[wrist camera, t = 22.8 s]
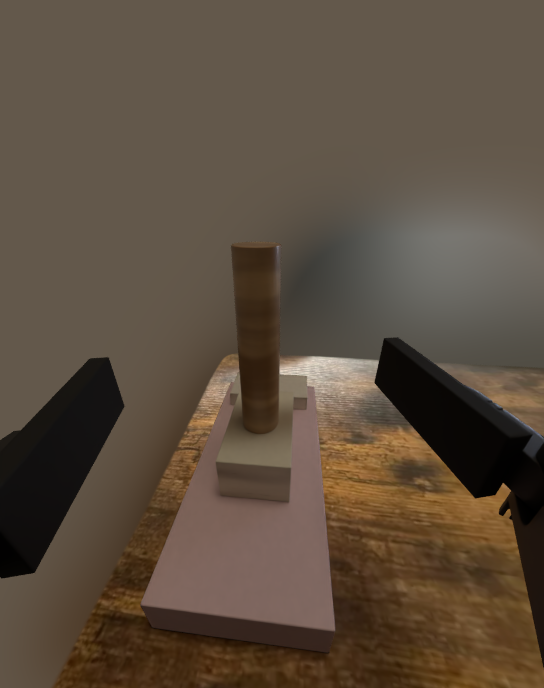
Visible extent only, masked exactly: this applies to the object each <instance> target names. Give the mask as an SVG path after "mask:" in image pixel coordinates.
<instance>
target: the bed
mask: <svg viewBox="0 0 544 688" xmlns="http://www.w3.org/2000/svg"><path fill="white" fill-rule="evenodd" d="M240 389H241V385H240V372H238V374H237V376H236V379H235V382H231V384H230V386H229V389H228V391H227V394H226V396H225V398H224V401H223V403H222V406H221V408H220V411H219V413H218V416H217V418H216V420H215V423H214V425H213V428H212V430H211V433H210V435H209V438H208V440H207V442H206V445H205V447H204V450H203V452H202V455H201V457H200V460H199V462H198V465H197V467H196V469H195V472H194V474H193V477H192V479H191V482H190V484H189V487H188V489H187V491H186V494H185V496H184V499H183V501H182V504H181V506H180V509H179V511H178V513H177V516H176V518H175V521H174V523H173V526H172V528H171V531H170V533H169V536H168V538H167V540H166V543H165V545H164V548H163V550H162V553H161V555H160V558H159V560H158V562H157V565H156V567H155V570H154V572H153V575H152V577H151V580H150V582H149V585H148V587H147V589H146V592H145V594H144V597H143V599H142V602H141V607H142V609H143V611H144V613H145V615H146V617H147V619H148V621H149V622H150V624H151V626H152V628H158V629H165V630H172V631H179V632H186V633H193V634H200V635H207V636H214V637H221V638H228V639H235V640H242V641H249V642H256V643H263V644H270V645H277V646H284V647H291V648H298V649H305V650H312V651H319V652H326V653H329V651H330V647H331V644H332V640H333V637H334V633H335V621H334V609H333V598H332V586H331V575H330V563H329V552H328V540H327V528H326V517H325V505H324V494H323V482H322V471H321V459H320V447H319V436H318V424H317V413H316V401H315V390H314V387H309V386H307V376H298V375H279V391H288V392H294V400H293V432H292V463H291V485H290V501H289V502H284V501H273V500H262V499H252V498H241V497H231V496H221V495H220V489H219V482H218V475H217V468H216V459H217V456H218V453H219V450H220V447H221V444H222V441H223V438H224V435H225V432H226V429H227V426H228V423H229V420H230V417H231V414H232V411H233V409H234V406H235V403H236V400H237V397H238V394H239V391H240Z"/></svg>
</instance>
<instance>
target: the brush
mask: <svg viewBox="0 0 544 688" xmlns="http://www.w3.org/2000/svg"><path fill="white" fill-rule="evenodd" d="M231 251H232V266H233V280H234V296H235V311H236V325H237V340H238V355H239V370H240V385H241V389H240V391H239V394H238V397H237V400H236V403H235V406H234V409H233V411H232V414H231V417H230V420H229V423H228V426H227V429H226V432H225V435H224V438H223V441H222V444H221V447H220V450H219V453H218V456H217V459H216V468H217V475H218V482H219V489H220V495H221V496H231V497H241V498H252V499H262V500H273V501H284V502H289V501H290V485H291V463H292V432H293V400H294V392H288V391H279V367H280V300H281V299H280V298H281V244H279V243H273V242H242V243H235V244H232V245H231Z"/></svg>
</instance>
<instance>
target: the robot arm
mask: <svg viewBox="0 0 544 688" xmlns="http://www.w3.org/2000/svg"><path fill="white" fill-rule="evenodd" d="M374 383H375V384H376V385H377V386H378V388H379V389H380V390H381V391H382V392H383V393H384V394H385V396H386V397H387V398H388V399H389V400H390V401H391V402H392V404H393V405H394V406H395V407H396V408H397V409H398V410H399V412H400V413H401V414H402V415H403V416H404V417H405V418H406V420H407V421H408V422H409V423H410V424H411V425H412V426H413V428H414V429H415V430H416V431H417V432H418V433H419V434H420V436H421V437H422V438H423V439H424V440H425V441H426V443H427V444H428V445H429V446H430V447H431V448H432V449H433V451H434V452H435V453H436V454H437V455H438V456H439V457H440V459H441V460H442V461H443V462H444V463H445V464H446V465H447V467H448V468H449V469H450V470H451V471H452V472H453V473H454V475H455V476H456V477H457V478H458V479H459V480H460V481H461V483H462V484H463V485H464V486H465V487H466V488H467V489H468V491H469V492H470V493H471V494H472V495H473V496H474V497H475V498H480V497H486V496H492V495H496V493H497V491H498V490H499V488H500V487H501V485H502V483H504V484H505V485H506V486H507V487H508V488H509V489H510V490H511V492H510V494H509V495H508V497H507V498H506V500H505V501H504V503H503V504H502V506H501V507H500V509H499V514H500V515H502V516H503V515H504V514H505V512H506V511H507V510H508V509H510V511H511V516H510V517H509V519H511V520H513V525H514V530H515V534H516V539H517V544H518V549H519V553H520V558H521V563H522V568H523V572H524V577H525V582H526V587H527V591H528V596H529V601H530V605H531V610H532V615H533V620H534V624H535V629H536V634H537V639H538V643H539V648H540V653H541V658H542V662H543V667H544V437H543V436H542V435H540V434H539V433H537V432H536V431H534V430H533V429H532V428H530V427H529V426H527V425H526V424H525V423H523V422H522V421H520V420H519V419H517V418H516V417H515V416H513V415H512V414H510V413H509V412H507V411H506V410H503V408H502V407H500V406H499V405H497V404H496V403H493V402H492V400H490V399H489V398H488V397H486V396H485V395H483V394H482V393H480V392H479V391H476V390H474V389H472V388H470V387H468V386H466V385H463V384H462V383H460V382H459V381H458V380H456V379H455V378H454V377H452V376H451V375H449V374H448V373H447V372H445V371H444V370H442V369H441V368H440V367H438V366H437V365H435V364H434V363H433V362H431V361H430V360H428V359H427V358H426V357H424V356H423V355H422V354H420V353H419V352H417V351H416V350H415V349H413V348H412V347H410V346H409V345H408V344H406V343H405V342H404V341H402V340H401V339H399V338H384V341H383V346H382V351H381V355H380V360H379V364H378V369H377V373H376V378H375V382H374ZM123 408H124V404H123V400H122V397H121V394H120V391H119V388H118V385H117V382H116V379H115V376H114V372H113V369H112V366H111V363H110V360H109V358H107V357H106V358H92V359H89V360H88V361H87V362H86V363H85V364H84V365H83V367H81V368H80V369H79V370H78V371H77V372H76V373H75V375H74V376H73V377H72V378H71V379H70V380H69V381H68V382H67V383H66V384H65V385H64V386H63V387H62V388H61V389H60V390H59V391H58V392H57V393H56V394H55V395H54V396H53V397H52V399H51V400H50V401H49V402H48V403H47V404H46V405H45V406H44V407H43V408H42V409H41V410H40V411H39V412H38V413H37V414H36V415H35V416H34V417H33V418H32V419H31V421H29V422H28V423H27V425H26V426H25V427H24V428H23V429H22V430H21V431H13V432H12V433H11V434H9V435H7V436H6V437H4V438H3V439H2V440H0V577H1V578H7V577H13V576H19V575H25V574H31V573H35V571H36V569H37V567H38V566H39V564H40V562H41V560H42V558H43V556H44V554H45V553H46V551H47V549H48V547H49V545H50V543H51V542H52V540H53V538H54V536H55V534H56V532H57V530H58V529H59V527H60V525H61V523H62V521H63V519H64V517H65V516H66V514H67V512H68V510H69V508H70V506H71V504H72V503H73V501H74V499H75V497H76V495H77V493H78V492H79V490H80V488H81V486H82V484H83V482H84V480H85V479H86V477H87V475H88V473H89V471H90V469H91V467H92V466H93V464H94V462H95V460H96V458H97V456H98V454H99V453H100V451H101V449H102V447H103V445H104V443H105V441H106V440H107V438H108V436H109V434H110V432H111V430H112V428H113V427H114V425H115V423H116V421H117V419H118V417H119V415H120V414H121V412H122V410H123Z"/></svg>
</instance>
